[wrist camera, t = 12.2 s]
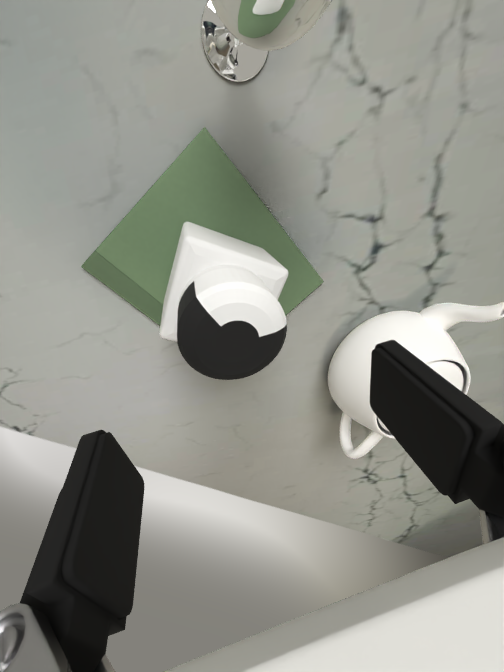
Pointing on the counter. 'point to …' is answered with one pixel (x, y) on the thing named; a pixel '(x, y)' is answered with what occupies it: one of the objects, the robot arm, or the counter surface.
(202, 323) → the medicine bottle
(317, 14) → the wineglass
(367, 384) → the teapot
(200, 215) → the napkin
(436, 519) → the counter surface
